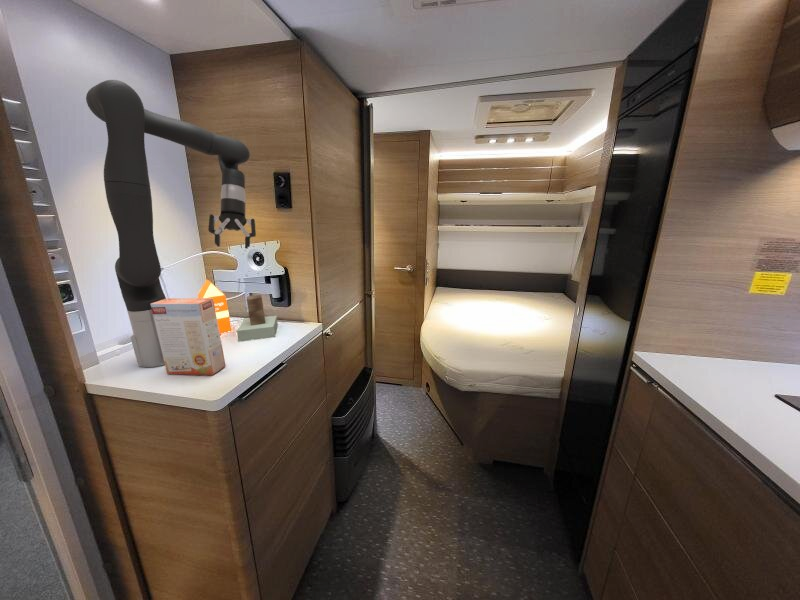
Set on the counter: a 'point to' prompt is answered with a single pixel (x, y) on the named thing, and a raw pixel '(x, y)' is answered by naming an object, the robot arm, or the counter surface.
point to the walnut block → (255, 310)
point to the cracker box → (189, 335)
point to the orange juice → (217, 305)
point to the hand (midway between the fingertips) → (232, 247)
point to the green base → (257, 329)
